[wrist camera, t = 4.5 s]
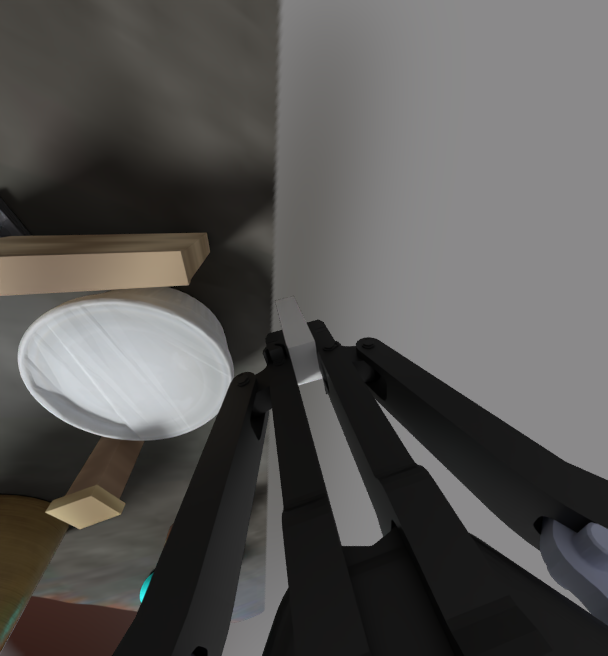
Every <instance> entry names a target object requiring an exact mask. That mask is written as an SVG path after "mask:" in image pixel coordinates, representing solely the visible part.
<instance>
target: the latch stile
mask: <svg viewBox="0 0 608 656" xmlns="http://www.w3.org/2000/svg"><path fill="white" fill-rule="evenodd" d="M143 443H144V441H132V440H121V439H114V438H109V437H103V436H102V437H101V438H100V440H99V441H98V443H97V445H96V446H95V448H94V450H93V451H92V453H91V454H90V456H89V458H88V459H87V461H86V463H85V464H84V466H83V467H82V469H81V471H80V472H79V474H78V476H77V477H76V479H75V480H74V482H73V484H72V485H71V487H70V489H69V490H68V492H67V493H66V495H65V496H64V497H61V498H58V499H55V500H53V501H52V502H51V504H50V505H49V507H48V508H47V510H46V512H45V513H47V514H50V515H52V516H54V517H56V518H58V519H60V520H62V521H64V522H66V523H68V524H70V525H72V526H74V527H76V528H78V529H82V528H85V527H87V526H90V525H93V524H96V523H98V522H101V521H104V520H107V519H110V518H112V517H115V516H118V515H121V514H122V511H123V509H124V506H125V504H126V503H124V502H123V501H121V500H120V497H121V495H122V492H123V490H124V488H125V485H126V483H127V481H128V478H129V476H130V474H131V471H132V469H133V467H134V464H135V462H136V460H137V457H138V455H139V453H140V450H141V448H142V446H143Z"/></svg>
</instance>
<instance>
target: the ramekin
mask: <svg viewBox="0 0 608 656" xmlns="http://www.w3.org/2000/svg"><path fill="white" fill-rule="evenodd" d="M18 366H19V371H20V374H21V377H22V379H23V381H24V383H25V385H26V387H27V388H28V390H29V391H30V393H31V394H32V395H33V396H34V398H35V399H36V400H37V401H38V402H39V403H40V404H41V405H42V406H43V407H44V408H45V409H47V410H48V411H49V412H51V413H52V414H53V415H55V416H56V417H58V418H59V419H61V420H63V421H64V422H66V423H68V424H70V425H72V426H74V427H77V428H79V429H82V430H84V431H87V432H90V433H93V434H96V435H100V436H103V437H109V438H114V439H121V440H132V441H148V440H159V439H166V438H171V437H175V436H179V435H182V434H185V433H187V432H190V431H192V430H194V429H196V428H198V427H200V426H202V425H204V424H205V423H207V422H208V421H209V420H211V419H212V418H213V417H215V416H216V415H217V414H218V413H219V410H220V408H221V405H222V403H223V400H224V398H225V395H226V393H227V390H228V388H229V385H230V383H231V381H232V380H233V378H234V367H233V362H232V358H231V355H230V352H229V350H228V346H227V342H226V337H225V334H224V330H223V328H222V326H221V324H220V322H219V321H218V320H217V318H216V316H215V315H214V314H213V313H212V312H211V311H210V309H208V308H207V307H206V306H205V305H204V304H203V303H201V302H199V301H198V300H197V299H195V298H193V297H191V296H189V295H188V294H186V293H183V292H181V291H179V290H176V289H172V288H169V287H148V288H130V289H115V290H111V291H108V292H105V293H102V294H95V295H88V296H84V297H80V298H76V299H73V300H70V301H68V302H65V303H63V304H61V305H59V306H57V307H55V308H53V309H51V310H49V311H48V312H46V313H45V314H43V315H42V316H40V317H39V318H38V319H37V320H36V321H35V322H34V323H33V324H32V325H31V326H30V327H29V328H28V329H27V331H26V332H25V334H24V336H23V338H22V339H21V342H20V344H19V348H18Z"/></svg>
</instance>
